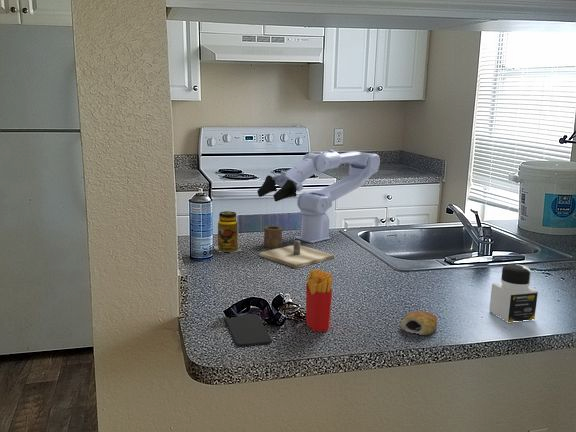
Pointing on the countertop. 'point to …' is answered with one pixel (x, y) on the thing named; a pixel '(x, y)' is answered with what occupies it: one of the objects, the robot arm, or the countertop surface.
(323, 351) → the countertop surface
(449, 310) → the countertop surface
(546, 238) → the countertop surface
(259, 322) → the phone
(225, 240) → the condiment
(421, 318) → the pastry
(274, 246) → the collar
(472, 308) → the countertop surface
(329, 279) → the french fries
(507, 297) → the medicine bottle
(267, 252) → the post board
